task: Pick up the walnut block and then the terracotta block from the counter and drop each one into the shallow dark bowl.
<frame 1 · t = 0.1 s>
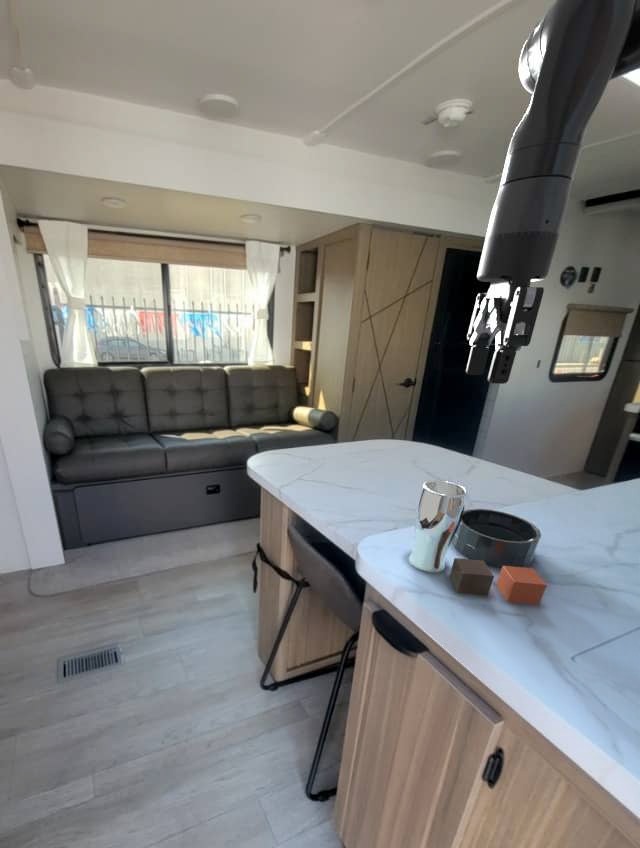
hand: (484, 378, 54), 32 cm above the table, tool pointing down, fingers open, 8 cm apart
walnut block: (466, 590, 65), on the table
terracotta block: (515, 598, 64), on the table
shallow dark bowl: (489, 552, 76), on the table
beer glass: (425, 567, 71), on the table
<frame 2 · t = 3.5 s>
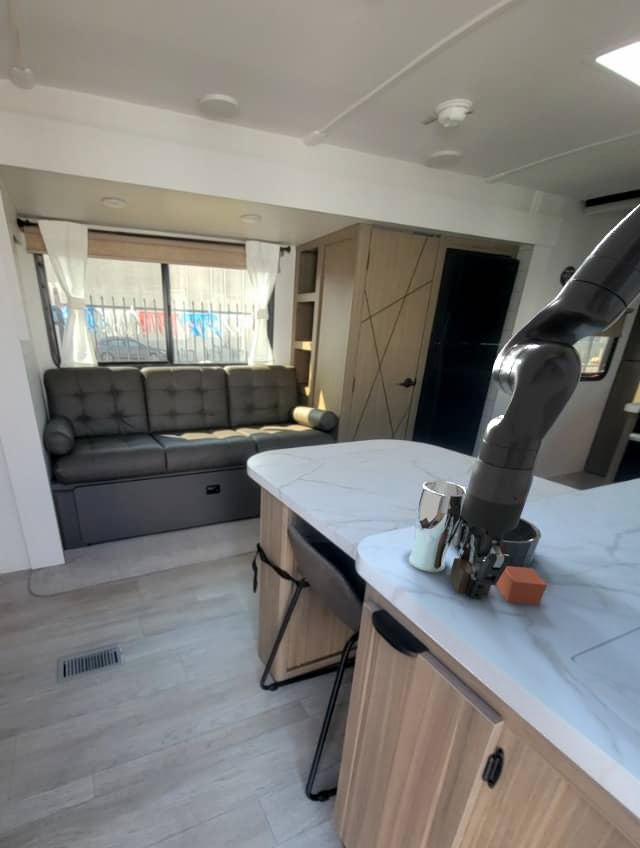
hand: (466, 588, 65), 0 cm above the table, tool pointing down, fingers closed on walnut block, 4 cm apart
walnut block: (466, 590, 65), on the table, touching gripper
everything else where it was.
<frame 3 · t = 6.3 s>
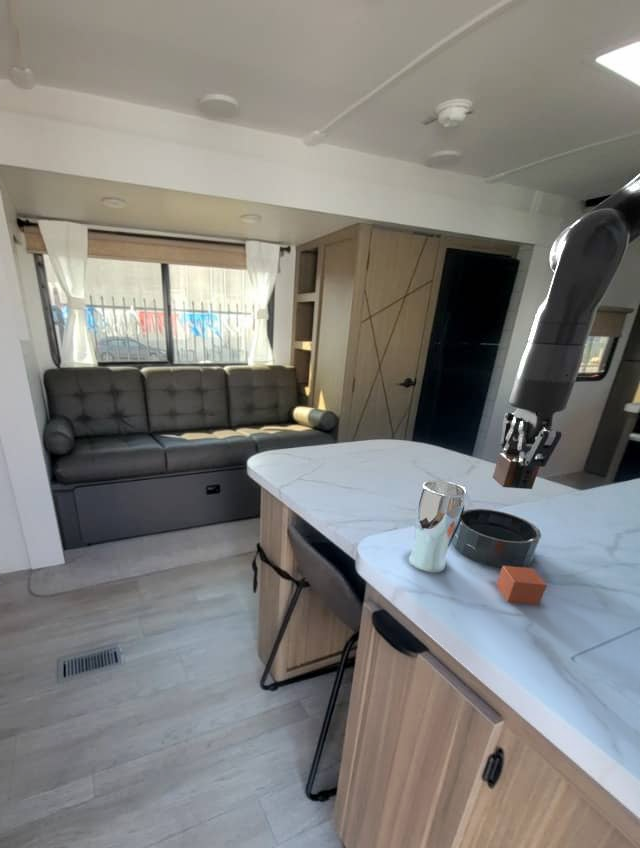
hand: (512, 481, 68), 15 cm above the table, tool pointing down, fingers closed on walnut block, 4 cm apart
walnut block: (511, 483, 68), point 15 cm above the table, touching gripper
everything else where it was.
when the fingers open (5 cm above the table, at t = 9.1 s): walnut block drops 4 cm, resting on shallow dark bowl.
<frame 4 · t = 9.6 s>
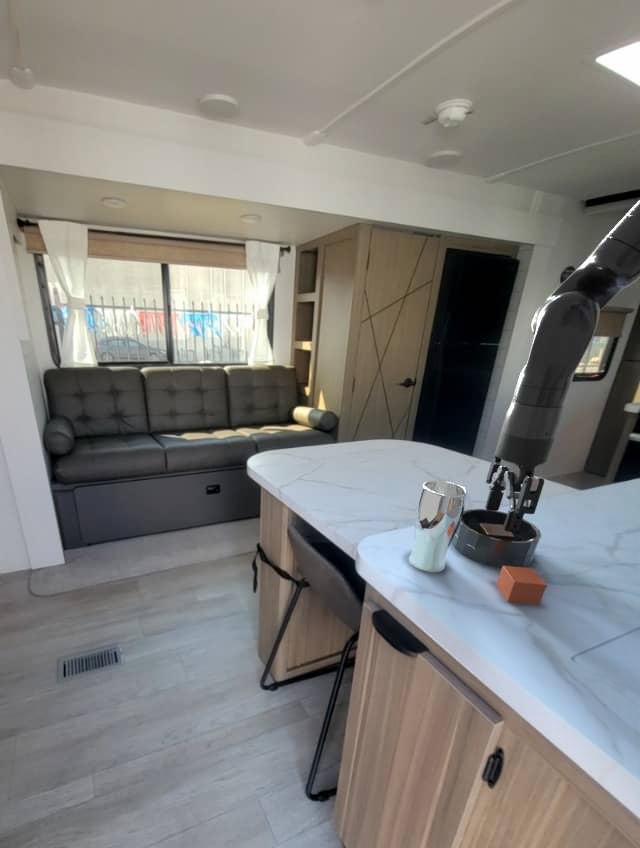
hand: (500, 519, 73), 7 cm above the table, tool pointing down, fingers open, 8 cm apart
walnut block: (489, 550, 76), resting on shallow dark bowl
everything else where it was.
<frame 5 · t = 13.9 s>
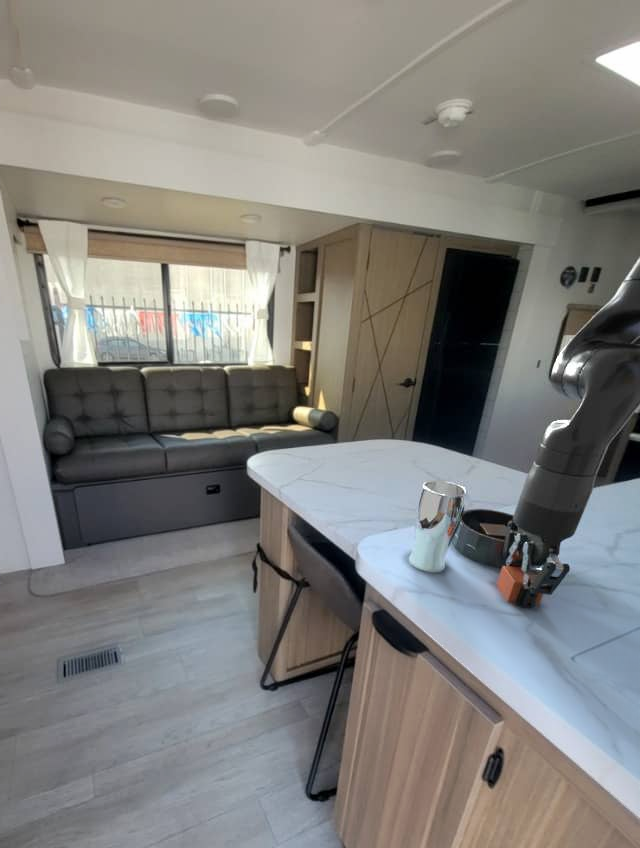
hand: (515, 596, 64), 0 cm above the table, tool pointing down, fingers closed on terracotta block, 4 cm apart
terracotta block: (515, 598, 64), on the table, touching gripper
everything else where it was.
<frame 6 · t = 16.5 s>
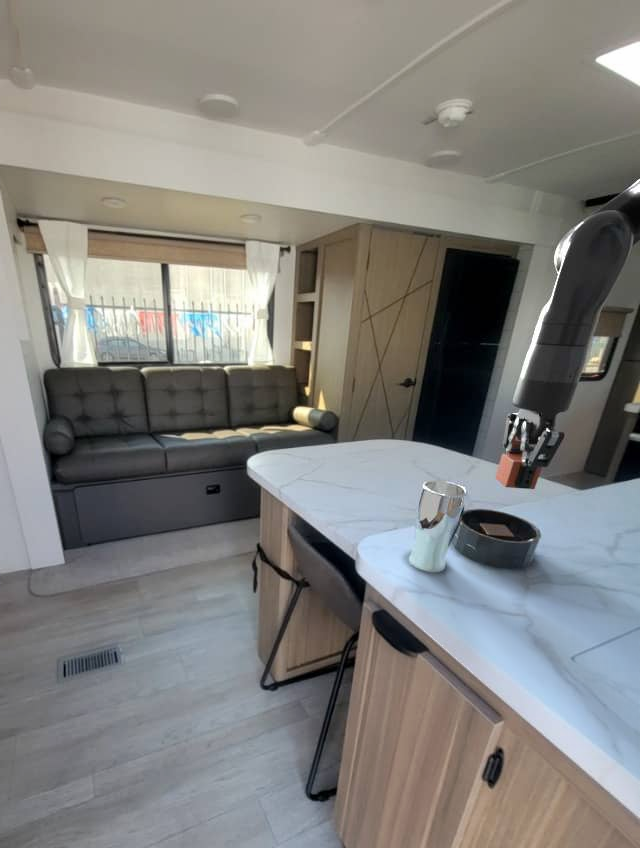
hand: (514, 481, 69), 15 cm above the table, tool pointing down, fingers closed on terracotta block, 4 cm apart
terracotta block: (514, 483, 69), point 15 cm above the table, touching gripper
everything else where it was.
when the fingers open (5 cm above the table, at t = 19.2 s): terracotta block stays where it is, resting on walnut block.
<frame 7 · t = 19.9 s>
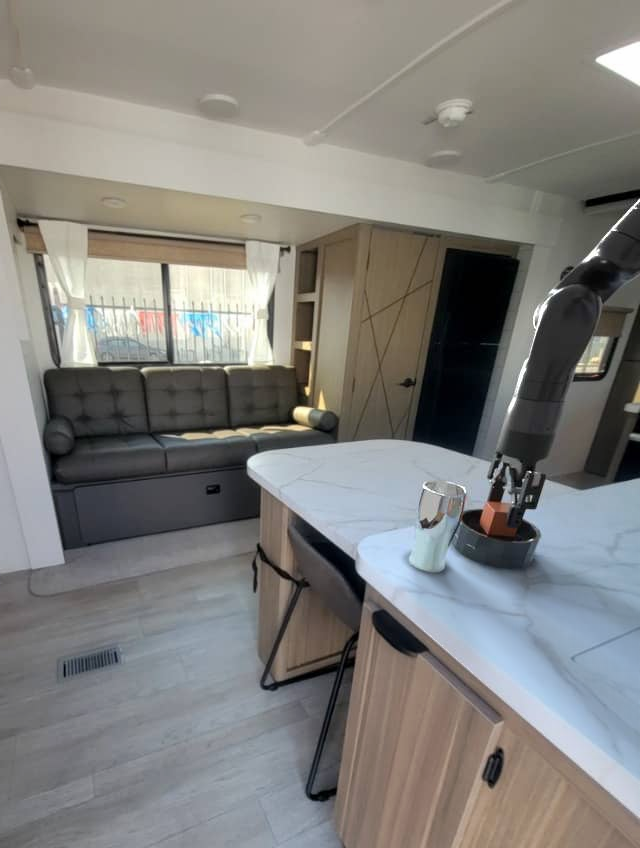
hand: (501, 515, 73), 8 cm above the table, tool pointing down, fingers open, 8 cm apart
walnut block: (489, 550, 76), resting on shallow dark bowl, touching terracotta block
terracotta block: (496, 529, 74), point 5 cm above the table, touching walnut block
everything else where it was.
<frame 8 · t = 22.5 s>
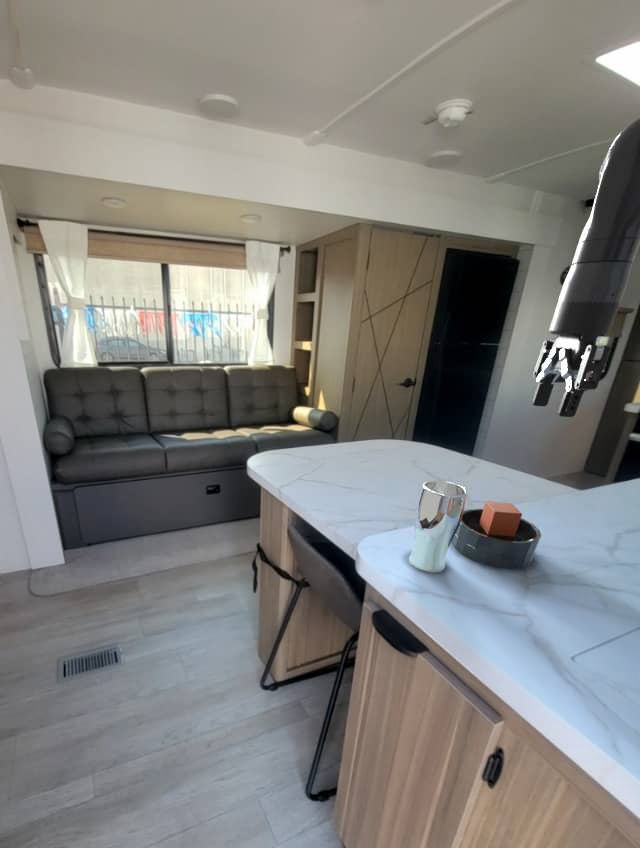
hand: (551, 410, 67), 26 cm above the table, tool pointing down, fingers open, 8 cm apart
nothing on the table moved.
at the end: walnut block inside the target area in the shallow dark bowl (0.0 cm from its centre), point 0.5 cm above the shallow dark bowl's base; terracotta block inside the target area in the shallow dark bowl (0.0 cm from its centre), point 5.0 cm above the shallow dark bowl's base; beer glass moved 0.2 cm from its start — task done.
